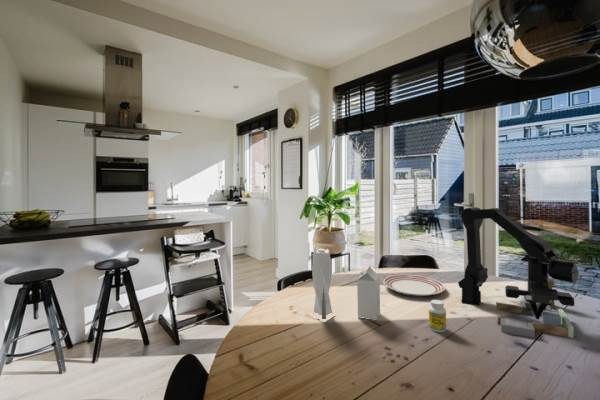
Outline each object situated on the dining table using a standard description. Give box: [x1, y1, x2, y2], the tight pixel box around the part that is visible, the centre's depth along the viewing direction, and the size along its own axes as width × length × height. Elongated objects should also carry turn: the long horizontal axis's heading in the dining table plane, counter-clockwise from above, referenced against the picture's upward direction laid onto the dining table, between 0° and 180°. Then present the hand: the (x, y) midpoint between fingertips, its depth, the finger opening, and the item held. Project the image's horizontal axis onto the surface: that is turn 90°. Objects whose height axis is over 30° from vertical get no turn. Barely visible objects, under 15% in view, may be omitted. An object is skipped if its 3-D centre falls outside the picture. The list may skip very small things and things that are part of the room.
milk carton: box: [356, 264, 381, 321], centre depth 116 cm, size 7×7×19 cm
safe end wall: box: [558, 308, 575, 339], centre depth 103 cm, size 1×15×4 cm, turn 149°
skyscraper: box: [311, 244, 333, 319], centre depth 117 cm, size 8×8×28 cm
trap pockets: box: [500, 300, 554, 339], centre depth 109 cm, size 16×27×2 cm, turn 149°
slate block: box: [541, 310, 562, 327], centre depth 105 cm, size 4×4×4 cm
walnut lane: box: [495, 301, 569, 338], centre depth 109 cm, size 19×15×2 cm
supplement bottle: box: [428, 299, 447, 333], centre depth 105 cm, size 5×5×10 cm
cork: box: [548, 277, 556, 309], centre depth 122 cm, size 6×6×11 cm
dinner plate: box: [382, 274, 446, 297], centre depth 144 cm, size 28×27×3 cm
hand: (537, 318), depth 107 cm, fingers closed
